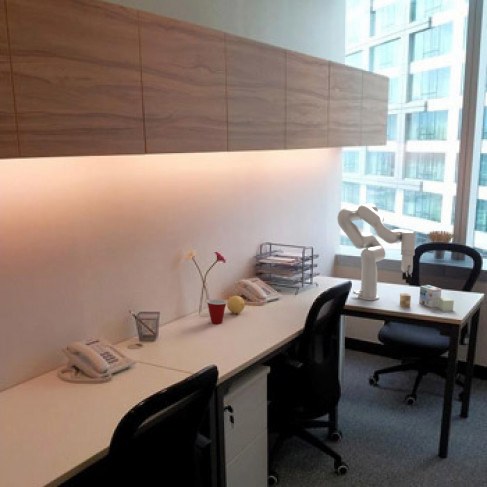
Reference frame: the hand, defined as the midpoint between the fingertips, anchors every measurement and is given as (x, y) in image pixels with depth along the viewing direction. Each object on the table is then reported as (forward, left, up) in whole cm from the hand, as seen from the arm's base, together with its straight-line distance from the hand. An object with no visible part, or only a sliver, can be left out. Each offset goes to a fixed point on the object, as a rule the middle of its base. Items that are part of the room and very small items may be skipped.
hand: (406, 281), depth 301 cm
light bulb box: (+15, +4, -15) cm, 22 cm away
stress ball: (-97, -24, -15) cm, 101 cm away
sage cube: (+22, -4, -15) cm, 27 cm away
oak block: (0, 0, -15) cm, 15 cm away
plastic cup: (-105, -41, -15) cm, 114 cm away
